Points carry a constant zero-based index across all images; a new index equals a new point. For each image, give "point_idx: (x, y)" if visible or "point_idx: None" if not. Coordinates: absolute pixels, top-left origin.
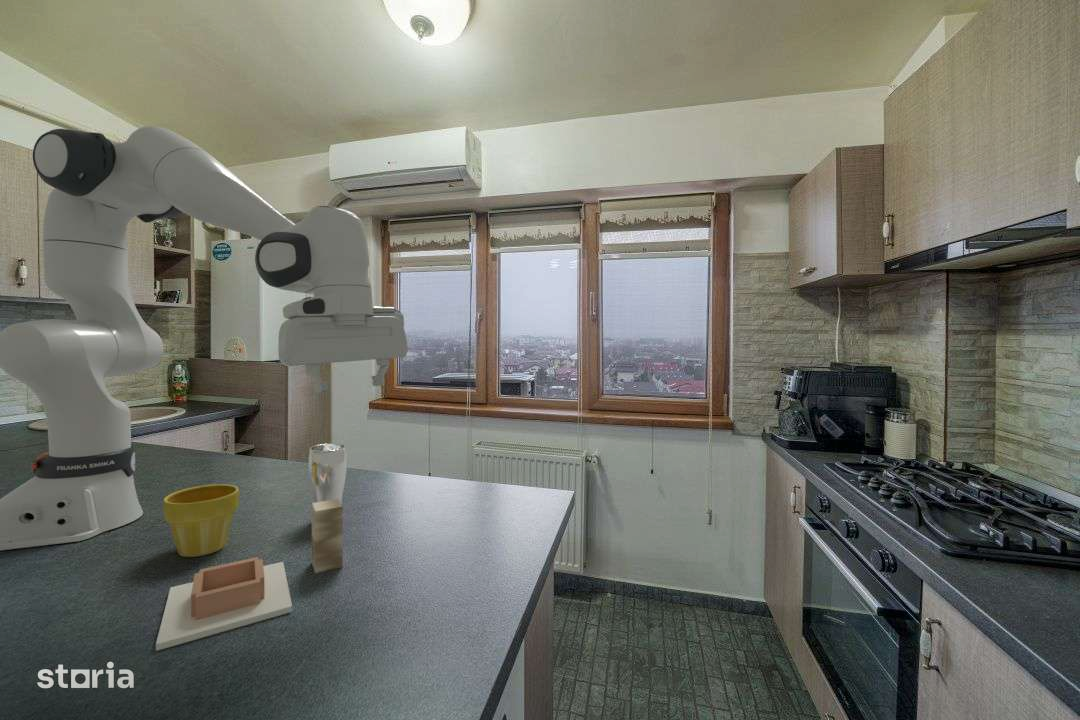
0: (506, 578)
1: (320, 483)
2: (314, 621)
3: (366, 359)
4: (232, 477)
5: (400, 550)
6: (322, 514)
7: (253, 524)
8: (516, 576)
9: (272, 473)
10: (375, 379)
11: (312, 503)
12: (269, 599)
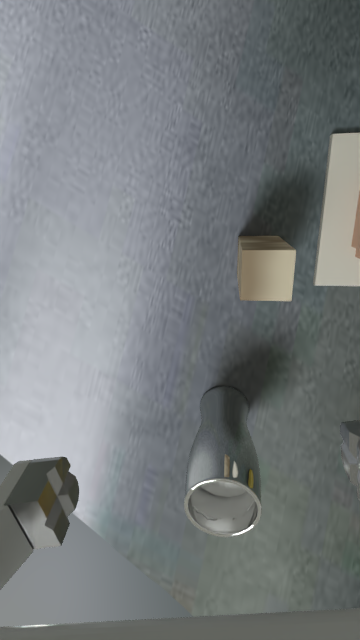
0: (23, 55)
1: (241, 433)
2: (309, 89)
3: (40, 627)
4: None
5: (148, 243)
6: (281, 248)
7: (322, 446)
8: (6, 52)
9: None
10: (52, 490)
11: (290, 298)
12: (355, 173)
